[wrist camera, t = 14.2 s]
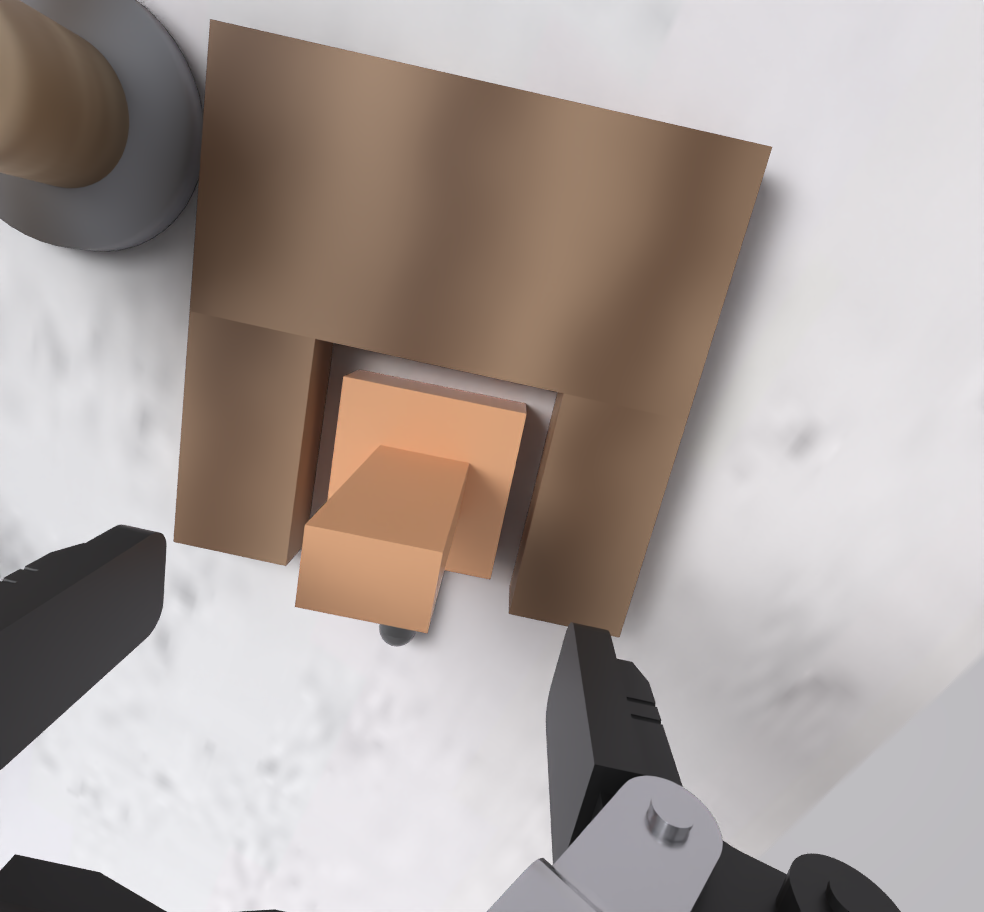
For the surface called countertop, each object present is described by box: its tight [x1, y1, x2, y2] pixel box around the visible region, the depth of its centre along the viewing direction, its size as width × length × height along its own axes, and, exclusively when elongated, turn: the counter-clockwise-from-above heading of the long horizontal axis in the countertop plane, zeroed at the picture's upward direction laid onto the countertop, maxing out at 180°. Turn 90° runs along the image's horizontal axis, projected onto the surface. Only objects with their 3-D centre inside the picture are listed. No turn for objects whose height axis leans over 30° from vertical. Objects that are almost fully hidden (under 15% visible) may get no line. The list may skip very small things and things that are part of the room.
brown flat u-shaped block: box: [174, 19, 772, 637], centre depth 19 cm, size 16×16×2 cm
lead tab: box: [295, 369, 527, 646], centre depth 17 cm, size 6×10×9 cm, turn 169°
